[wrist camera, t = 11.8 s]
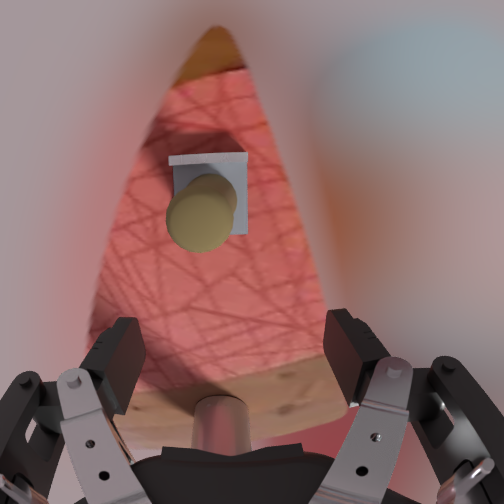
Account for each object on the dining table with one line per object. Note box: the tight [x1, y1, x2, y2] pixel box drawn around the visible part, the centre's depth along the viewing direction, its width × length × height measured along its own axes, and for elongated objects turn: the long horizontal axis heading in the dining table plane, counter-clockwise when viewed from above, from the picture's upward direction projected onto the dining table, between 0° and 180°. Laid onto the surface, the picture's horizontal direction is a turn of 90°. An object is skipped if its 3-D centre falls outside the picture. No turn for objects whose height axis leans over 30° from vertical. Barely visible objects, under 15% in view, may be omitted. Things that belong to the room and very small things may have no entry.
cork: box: [166, 174, 237, 253], centre depth 24 cm, size 6×6×11 cm
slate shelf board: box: [173, 162, 248, 235], centre depth 29 cm, size 8×8×1 cm
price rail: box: [169, 152, 248, 166], centre depth 27 cm, size 1×8×2 cm, turn 90°
